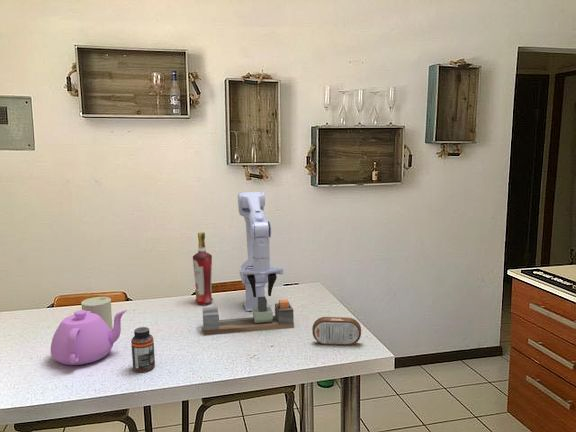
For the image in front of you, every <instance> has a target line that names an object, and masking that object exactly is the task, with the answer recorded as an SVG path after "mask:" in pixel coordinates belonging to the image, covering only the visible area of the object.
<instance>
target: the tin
mask: <svg viewBox="0 0 576 432" xmlns="http://www.w3.org/2000/svg"><path fill="white" fill-rule="evenodd" d="M311 330H312V336H313V338H314V340H315V341H316V342H317V343H318V344H320V345H325V346H326V345H327V346H353V345H355V344H357V343H358V342H359V341H360V339H361V335H362V327H361V324H360V323H359V322H358V320H357V319H354V318H352V317H345V316H344V317H341V316H339V317H336V316H322V317H319V318H318V319H316V320H315V321H314V323H313V325H312V329H311Z"/></svg>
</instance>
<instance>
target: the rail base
mask: <svg viewBox="0 0 576 432" xmlns="http://www.w3.org/2000/svg"><path fill="white" fill-rule="evenodd" d="M294 315H295V314H294V308H293V307H292V305H291V303H289V308H286V309H279V302H276V303H274V315H273V319H272V322H260V323H254V318H253V316H252V317H241V318H239V317H238V318H229V319H219V317H220V316H219V310H218V306H206V307H202V326H203V327H202V328H203V329H202V330H203V336H210V335H211V336H212V335H222V334H233V333H246V332H256V331H257V332H259V331H267V330H268V331H269V330H279V329H291V328H292V329H293V328H295V322H294V321H295V320H294Z"/></svg>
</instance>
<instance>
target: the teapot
mask: <svg viewBox="0 0 576 432" xmlns="http://www.w3.org/2000/svg"><path fill="white" fill-rule="evenodd" d="M127 311H128V310H127V309H125V310H121V311H119V312H117V313H116V314H115V315H114V318H113V329H112V330H111V331H110V329H109V327H108V326H107V324H106V323H105V322H104V320H103V319H102V318H101V317H100V316H99V315H97V314H94V313H92V312H91V311H85V310H82V309H81V310H76V311H74V312H73V314H72V315H69V316H67V317H65V318H63V319H62V321H61V322H60V323H59V325H58V327H57V329H56V330H55V332H54V334H53V336H52V338H51V344H50V354H51V357H52V358H53V359H54V360H55V361H57V362H58V363H60V364H62V365H65V366H66V365H67V366H79V365H85V364H90V363H95V362H96V361H98V360H101V359H103V358H105V357H106V356H107V355H108V354H109V352H110V351H111V350H112V348H113V347H114V344H115V343H116V342H117V341H118V339H119V338H120V335H121V331H122V327H121V326H122V325H121V324H122V323H121V321H122V316H123V315H124V314H125V313H126V312H127Z"/></svg>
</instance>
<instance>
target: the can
mask: <svg viewBox="0 0 576 432" xmlns="http://www.w3.org/2000/svg"><path fill="white" fill-rule="evenodd" d="M80 304H81V310H85V311H91V312H92V313H94V314H97V315H99V316H100V317H101V318H102V319H103V320H104V322H105V323H106V324H107V326H108V327H109V329H110V331H111V330H112V329H113V327H114V325H113V318H112V317H113V315H112V314H113V313H112V298H111V297H108V296H95V297H89V298H86V299H84V300H82V301H81V303H80Z"/></svg>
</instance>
